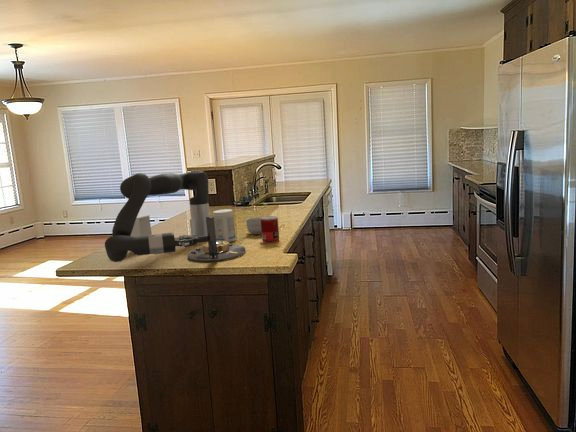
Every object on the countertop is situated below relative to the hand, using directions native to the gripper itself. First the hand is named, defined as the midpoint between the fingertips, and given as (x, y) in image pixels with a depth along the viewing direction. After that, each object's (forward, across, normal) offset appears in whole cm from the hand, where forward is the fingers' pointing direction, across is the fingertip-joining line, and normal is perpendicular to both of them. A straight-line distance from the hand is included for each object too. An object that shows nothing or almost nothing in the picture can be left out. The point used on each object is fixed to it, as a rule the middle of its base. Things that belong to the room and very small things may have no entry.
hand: (207, 238), depth 179 cm
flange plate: (+4, +13, +10) cm, 17 cm away
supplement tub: (+12, +38, +10) cm, 41 cm away
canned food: (+31, +27, +10) cm, 42 cm away
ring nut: (+3, +9, +8) cm, 12 cm away
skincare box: (-27, +43, +10) cm, 52 cm away
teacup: (+30, +46, +10) cm, 56 cm away
